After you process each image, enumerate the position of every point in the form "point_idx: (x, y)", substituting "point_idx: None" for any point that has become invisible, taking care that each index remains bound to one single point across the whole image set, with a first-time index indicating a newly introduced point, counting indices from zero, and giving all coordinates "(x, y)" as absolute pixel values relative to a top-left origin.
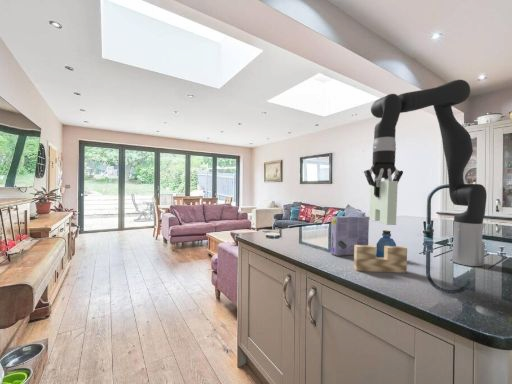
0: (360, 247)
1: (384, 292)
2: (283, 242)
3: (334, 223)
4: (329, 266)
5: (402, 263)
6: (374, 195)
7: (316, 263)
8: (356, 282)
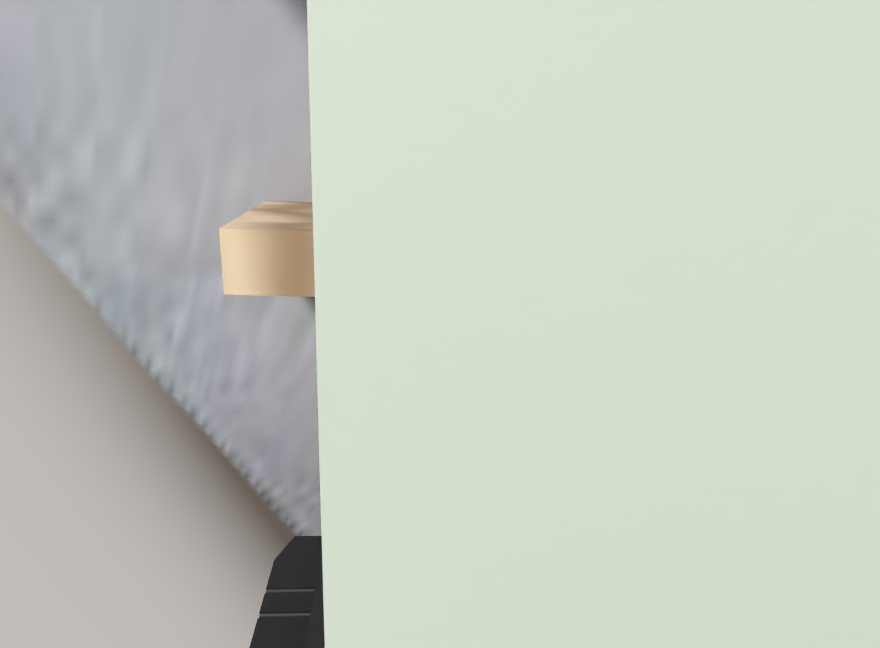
0: (254, 294)
1: (312, 518)
2: None
3: None
4: (103, 177)
5: None
6: (293, 545)
7: (9, 112)
8: (219, 427)
